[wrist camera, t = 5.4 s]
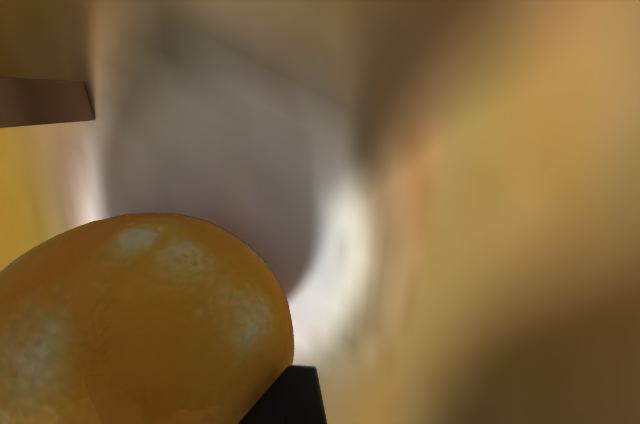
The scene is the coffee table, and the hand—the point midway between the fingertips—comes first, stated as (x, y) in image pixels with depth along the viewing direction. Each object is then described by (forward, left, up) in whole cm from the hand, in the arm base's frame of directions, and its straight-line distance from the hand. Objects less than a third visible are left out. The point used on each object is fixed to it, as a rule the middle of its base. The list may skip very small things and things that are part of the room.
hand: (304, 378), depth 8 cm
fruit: (+5, 0, -4) cm, 7 cm away
